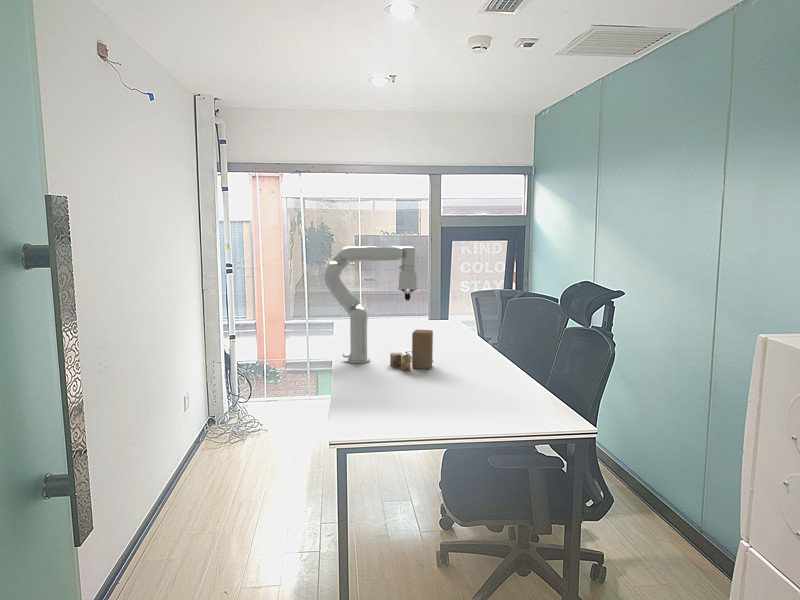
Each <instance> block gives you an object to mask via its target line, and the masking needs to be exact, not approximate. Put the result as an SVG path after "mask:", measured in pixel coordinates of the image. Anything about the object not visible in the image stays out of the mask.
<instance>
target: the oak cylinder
mask: <svg viewBox="0 0 800 600" xmlns="http://www.w3.org/2000/svg"><path fill="white" fill-rule="evenodd" d="M411 363H412V354H411V355H410V354H403V355H401V368H400V370H401V371H402V372H410V371H411Z"/></svg>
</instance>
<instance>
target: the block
mask: <svg viewBox="0 0 800 600" xmlns="http://www.w3.org/2000/svg"><path fill="white" fill-rule="evenodd" d="M411 335H412V337H411V339H412V340H411V343H412V345H411V367H412V369H418V370H422V369H423V370H430V368H431V367H432V366H433V351H434V350H433V340H434V339H433V338H434V337H433V335H434V334H433V330H432V329H415V330H414V331H413V332H412V334H411Z"/></svg>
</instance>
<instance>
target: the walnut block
mask: <svg viewBox="0 0 800 600" xmlns="http://www.w3.org/2000/svg"><path fill="white" fill-rule="evenodd" d="M389 354H390V355H389V357H390V358H389V359H390V360H389V361H390V362H389V364H390V365H389V366H391V368H392V369H396V368H397V369H398V368H400V369H401V355H404V354H403V353H402V352H390V353H389Z"/></svg>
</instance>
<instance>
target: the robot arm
mask: <svg viewBox="0 0 800 600" xmlns="http://www.w3.org/2000/svg"><path fill="white" fill-rule="evenodd" d="M400 259H401V265H398V269H401V270H399V275H398V288H397V289H398V291H402V292H403V293H404V300H406V301H408V302H409V301H410V300H411V293H413V292H415V291H417V290H418V287H417V286H418V285H417V283H418V281H417V279H418V278H417V271H416V270H415V269H416V268H415V267H416V248H415V247H414V246H406V245H405V246H399V245H392V246H373V245H367V246H362V245H361V246H344V247H343V248H342V249H341V250H340V251H339V252H338V253H337V254H336V256H334V257H333V258H332V259H331V260H330V261H329V262H328V263H327V265H326V270H325V271H324V272H325V273H324V283H325V285H326V288H327V289H328V290H329V292H330V293H331V294H332V295H333V297H334V298H335V300H336V301H337V302H338V304H339V305H340V306H341V307H342V308H343V309H344V311H345V312H346V313H347V314H348V315H349V320H350V323H349V325H350V326H349V327H350V331H349V334H350V344H349V345H350V351H349V352H348V353H343V354H342V358H346V359H347V362H349V363H351V364H366V363H369V362H370V361H371V358H370V357H368V312H367V310H366V308H365V307H364V305H363V304H362V303H361V302H360V300H359V299H358V298H357V296H355V294H354V293H353V292H352V291H351V290H350V289H348V287H347V286H346V285H345V284H344V282H343V280H341V274H342V271H343V270H344V269H345V268H346V267H347V266H349V264H350V263H359V262H360V263H361V262H362V263H363V262H381V261H383V262H384V261H398V260H400ZM407 289H408V291H407Z"/></svg>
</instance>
